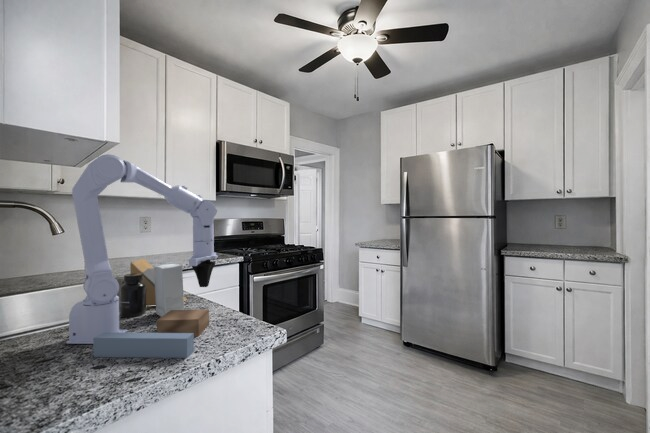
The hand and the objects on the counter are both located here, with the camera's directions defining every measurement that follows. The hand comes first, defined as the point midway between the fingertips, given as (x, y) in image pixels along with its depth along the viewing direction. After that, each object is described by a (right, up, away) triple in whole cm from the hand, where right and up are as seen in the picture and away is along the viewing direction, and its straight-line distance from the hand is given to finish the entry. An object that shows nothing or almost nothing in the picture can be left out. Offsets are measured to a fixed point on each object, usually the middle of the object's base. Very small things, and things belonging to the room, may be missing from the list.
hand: (203, 286), depth 92 cm
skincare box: (-11, -9, +1) cm, 14 cm away
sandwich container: (-20, -9, +13) cm, 26 cm away
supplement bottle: (-22, -9, +2) cm, 24 cm away
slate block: (-3, -9, -25) cm, 27 cm away
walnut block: (0, -9, -12) cm, 15 cm away
